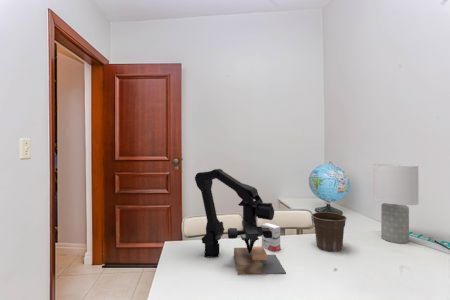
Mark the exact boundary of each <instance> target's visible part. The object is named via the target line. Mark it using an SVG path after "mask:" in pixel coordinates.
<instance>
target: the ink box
mask: <svg viewBox="0 0 450 300" xmlns="http://www.w3.org/2000/svg"><path fill="white" fill-rule="evenodd" d="M261 227H262V228H269V229H270V230H271V231H272V238H265V237H264V236H263V235H262V236H261V246H263V248H264V249H267V250H269V251H271V252H273V253H277V252H278V251H280V250H281V226H279V225H276V224H272V223H269V222H266V223H262V224H261Z"/></svg>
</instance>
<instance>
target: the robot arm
mask: <svg viewBox="0 0 450 300" xmlns="http://www.w3.org/2000/svg"><path fill="white" fill-rule="evenodd" d="M216 179H217V180H218V181H220V182H221V183H223V184H224V185H225V186H227V187H228V188H230V190H233V191H234V192H235V193H236V194H237V196H238V198H240V199H241V201H240V203H238V206H239V207H242V230H238V228H237V227H229V228H227V239H231V240H233V239H237V238H238V236H240V238H241V241H244V243H245V245H246V248H247V249H248V252H249V253H251V250H252V247H254V245H255V242H256V241H259V237H262V235H263V236H264V237H265V238H272V231H271V230H270V229H269V228H262V226H258V225H257V219H262V220H268V221H273V220H274V218H275V216H274V215H275V209H274V206H273V203H272V202H264V201H263V199H262V198H261V196H260V195H259V193H258V189H257V188H256V187H255V186H251V185H249V184H246V183H243V182H241V181H239V180H237V179H236V178H234V177H232V176H231V175H229V173H227V172H225V171H224V170H223V169H222V168H214V169H213V170H210V171H200V172H198V173H196V174H195V176H194V180H195V183H196V184H195V185H196V187H197V188H198V189H199V191H200V192H201V197H202V203H203V206H204V211H205V216H206V226H205V235H203V236H202V238H201V242H202V244H204V258H217V257H218V258H219V255H220V243H219V241H220V240H221V238H222V237H223V235H224V233H225V232H224V231H225V228H224V222H223V221H220V220H219V219H218V215H217V210H216V207H215V202H214V197H213V192H212V187H213V180H216Z"/></svg>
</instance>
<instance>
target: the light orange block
mask: <svg viewBox="0 0 450 300" xmlns="http://www.w3.org/2000/svg"><path fill="white" fill-rule="evenodd" d="M267 255H268V254H267V251H266V250H265V248H263V246H262V245H261V246H259V245H258V246H257V245H256V246H253V247H252V250H251V256H252V259H253V260H267Z"/></svg>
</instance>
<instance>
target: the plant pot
mask: <svg viewBox="0 0 450 300" xmlns="http://www.w3.org/2000/svg"><path fill="white" fill-rule="evenodd" d="M311 217H312V220H313V224H314V231H315V233H314V234H315V240H316V246H317V248H318V249H320V250H322V251H324V250H326V252H331V253H337V252H341V251H342V250H343V246H344V245H343V243H344V232H345V227H346V221H347V217H346V215H343V214H341V213H335V212H330V211H323V212H322V211H320V212H319V211H317V212H314V213H312V214H311Z"/></svg>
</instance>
